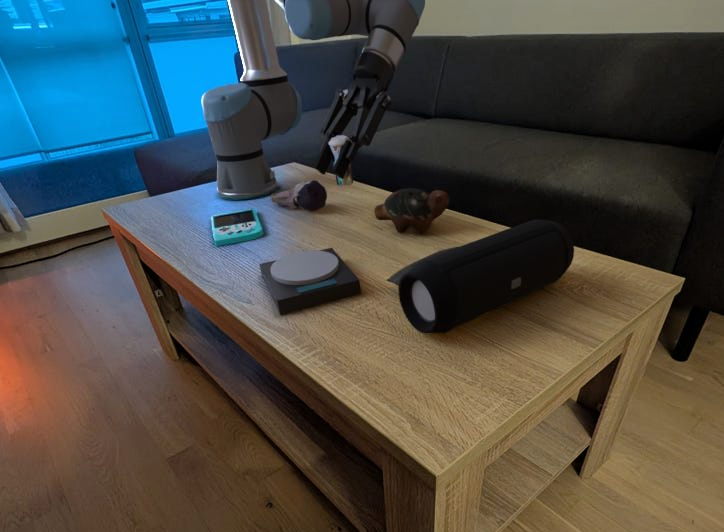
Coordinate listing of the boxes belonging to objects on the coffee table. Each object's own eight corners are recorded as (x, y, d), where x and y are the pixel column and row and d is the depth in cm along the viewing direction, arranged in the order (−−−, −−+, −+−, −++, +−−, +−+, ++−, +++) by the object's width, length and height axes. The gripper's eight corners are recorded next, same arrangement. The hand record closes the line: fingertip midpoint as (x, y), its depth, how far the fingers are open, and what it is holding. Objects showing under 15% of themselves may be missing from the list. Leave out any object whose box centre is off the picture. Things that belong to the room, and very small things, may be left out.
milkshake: (330, 182, 95) (322, 130, 89) (355, 179, 95) (349, 127, 89) (330, 188, 91) (322, 135, 85) (356, 185, 91) (350, 131, 85)
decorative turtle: (447, 239, 85) (445, 197, 80) (371, 241, 89) (364, 201, 84) (453, 218, 92) (452, 178, 87) (382, 220, 96) (377, 182, 91)
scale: (262, 277, 77) (257, 259, 75) (333, 260, 80) (331, 243, 78) (280, 315, 67) (275, 295, 65) (361, 294, 70) (359, 275, 68)
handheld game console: (214, 246, 89) (212, 240, 88) (211, 220, 101) (209, 214, 100) (264, 237, 91) (263, 231, 90) (255, 213, 103) (254, 207, 102)
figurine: (289, 192, 110) (337, 183, 102) (289, 219, 111) (337, 212, 103) (259, 182, 102) (308, 172, 94) (259, 211, 103) (308, 203, 95)
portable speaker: (440, 353, 57) (442, 283, 51) (395, 320, 63) (392, 255, 57) (571, 290, 67) (586, 225, 61) (521, 267, 74) (530, 207, 68)
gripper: (421, 79, 87) (370, 190, 87) (355, 77, 96) (310, 176, 97) (403, 49, 80) (349, 168, 81) (335, 49, 90) (287, 156, 90)
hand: (328, 172), depth 89 cm, fingers closed on milkshake, 5 cm apart
